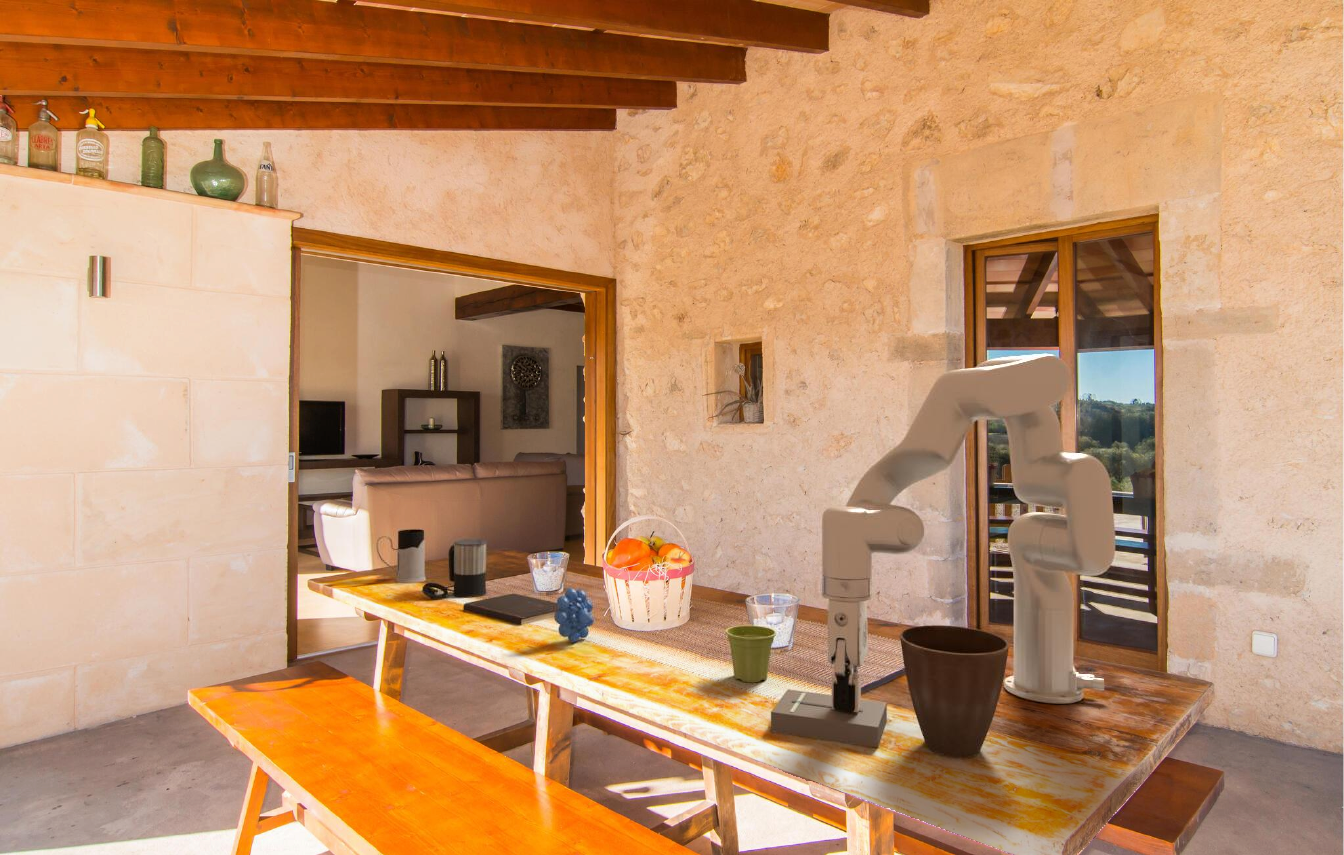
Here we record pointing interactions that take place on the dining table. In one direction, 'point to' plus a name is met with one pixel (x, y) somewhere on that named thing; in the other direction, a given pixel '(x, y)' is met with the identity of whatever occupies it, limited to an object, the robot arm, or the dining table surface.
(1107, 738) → the dining table surface
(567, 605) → the grapes
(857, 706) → the block
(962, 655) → the plant pot
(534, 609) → the hardcover book
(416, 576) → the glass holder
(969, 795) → the dining table surface
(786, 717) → the block
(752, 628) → the plant pot
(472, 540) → the milk frother
